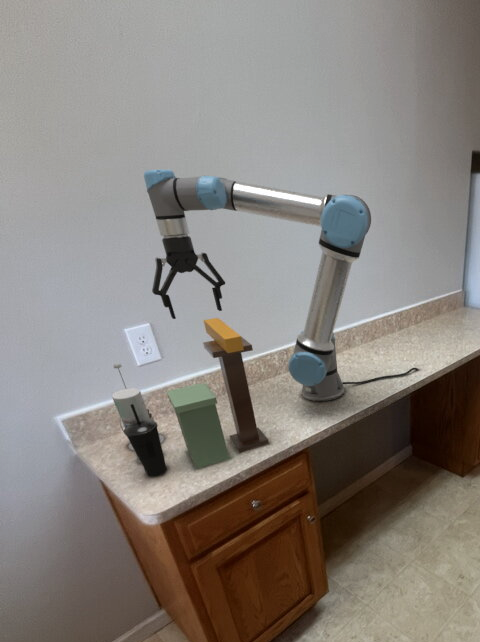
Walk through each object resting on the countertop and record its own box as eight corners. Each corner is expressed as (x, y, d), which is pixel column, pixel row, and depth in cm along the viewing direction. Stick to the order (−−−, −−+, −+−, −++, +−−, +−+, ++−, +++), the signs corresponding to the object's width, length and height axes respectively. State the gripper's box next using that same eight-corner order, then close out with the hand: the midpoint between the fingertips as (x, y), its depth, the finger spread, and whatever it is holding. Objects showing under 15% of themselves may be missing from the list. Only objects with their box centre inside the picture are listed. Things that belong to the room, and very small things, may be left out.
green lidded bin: (232, 459, 117) (216, 397, 107) (194, 470, 112) (174, 407, 102) (220, 441, 125) (205, 382, 115) (185, 451, 121) (166, 391, 111)
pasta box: (243, 350, 104) (241, 336, 102) (227, 353, 102) (224, 339, 100) (220, 330, 120) (217, 317, 118) (206, 332, 118) (203, 320, 116)
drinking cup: (178, 464, 115) (155, 398, 105) (162, 480, 109) (137, 412, 98) (152, 463, 116) (126, 397, 105) (135, 479, 109) (106, 411, 99)
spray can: (133, 464, 115) (106, 399, 105) (144, 452, 121) (119, 388, 110) (157, 463, 116) (132, 398, 105) (166, 451, 121) (144, 387, 110)
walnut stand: (271, 443, 123) (251, 344, 107) (237, 454, 119) (212, 352, 103) (260, 430, 130) (240, 335, 115) (227, 439, 126) (202, 342, 110)
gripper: (217, 231, 124) (234, 305, 135) (124, 240, 113) (151, 319, 124) (224, 232, 119) (241, 308, 130) (127, 241, 108) (155, 324, 119)
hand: (197, 314), depth 127 cm, fingers open, 13 cm apart
